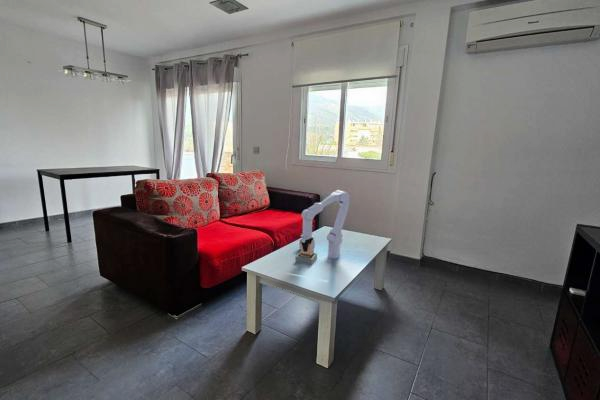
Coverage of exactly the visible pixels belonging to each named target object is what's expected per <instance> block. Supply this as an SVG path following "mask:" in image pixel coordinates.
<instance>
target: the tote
mask: <svg viewBox="0 0 600 400" xmlns="http://www.w3.org/2000/svg"><path fill="white" fill-rule="evenodd" d="M312 253H313V256H312V258H311V259H310V258H305V257H300V255H301V254H302V253H301V251H299V253H297V254H296V255H295V257H294V258H295V263H298V264H304V265H308V266H312V265H314V263H315V262H316V261H317V259H318V252H312Z"/></svg>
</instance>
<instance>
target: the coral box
mask: <svg viewBox="0 0 600 400" xmlns="http://www.w3.org/2000/svg"><path fill="white" fill-rule="evenodd" d="M313 251H314V250H313V244H309V245H308V250H307V252H305V251H303V246H302V245H301V249H300V252H301V253H305V254H311V253H314V252H313Z"/></svg>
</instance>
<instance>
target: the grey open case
mask: <svg viewBox="0 0 600 400" xmlns="http://www.w3.org/2000/svg"><path fill="white" fill-rule="evenodd" d="M300 240H302V238H299V240H298V243H299V244H298V245H299V250H301V245H302V244H301V242H300ZM315 241H316V240H315V239H314V238H313V240H312V242H311V244H313V251H314V249H315V247H316V244H315V243H316V242H315Z"/></svg>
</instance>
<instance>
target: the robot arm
mask: <svg viewBox="0 0 600 400" xmlns="http://www.w3.org/2000/svg"><path fill="white" fill-rule="evenodd" d="M350 198H351V197H350V194H349V193H348V192H347V191H344V190H340V189H336V190H334V191H333V192H331V193H330V195H328V196H327V197H326V198H324V199H323V200H322V201H321V202H314V203H313V205H311V206H310V207H308V208H306V209H304V210H302V212H301V214H300V215H301V218H302V234H300V237H301V239H302V240H300V239H299V240H300V242H301V244H302V246H303V251H305V252H307V250H308V245H309V244H311V242H312V240H313V239H314V237H313V219H314V218H315V216H316V215H319V213H321V212H322V211H323V210H324V208H325V207H327V206H328V205H330V204H331V203H333V202H337V203H338V204H339V209H338V211H337V216H336V218H335V222H334V225H333V228H331V229H330V231H329V232H328V234H327V236H326V240H327V242H328V243H327V244H328V246H327V247H328V250H327V251H328V252H327V253H328V254H327V257H328V258H331V259H338V258H340V253H341V245H342V243H343V233H342V231H343V226H344V223H345V221H346V217H347V214H348V212H349V207H350Z"/></svg>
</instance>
